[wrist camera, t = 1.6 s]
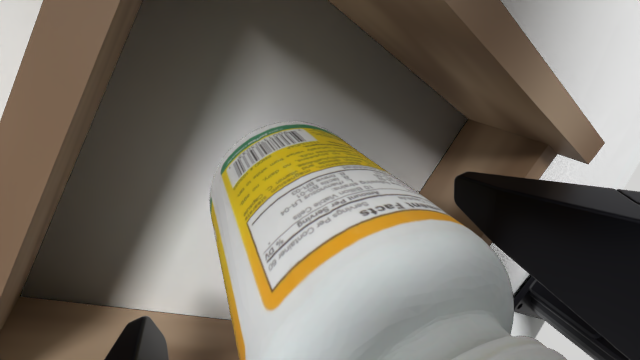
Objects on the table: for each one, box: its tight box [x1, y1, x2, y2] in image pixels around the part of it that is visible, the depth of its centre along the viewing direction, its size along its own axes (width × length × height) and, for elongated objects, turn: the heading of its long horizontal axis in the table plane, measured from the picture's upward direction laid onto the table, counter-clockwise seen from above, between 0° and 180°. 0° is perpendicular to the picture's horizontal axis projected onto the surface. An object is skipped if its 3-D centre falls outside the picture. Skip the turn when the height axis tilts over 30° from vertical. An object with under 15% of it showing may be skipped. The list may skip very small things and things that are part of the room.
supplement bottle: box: [209, 121, 567, 360], centre depth 8 cm, size 5×5×10 cm
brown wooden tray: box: [0, 0, 605, 360], centre depth 10 cm, size 14×14×4 cm
